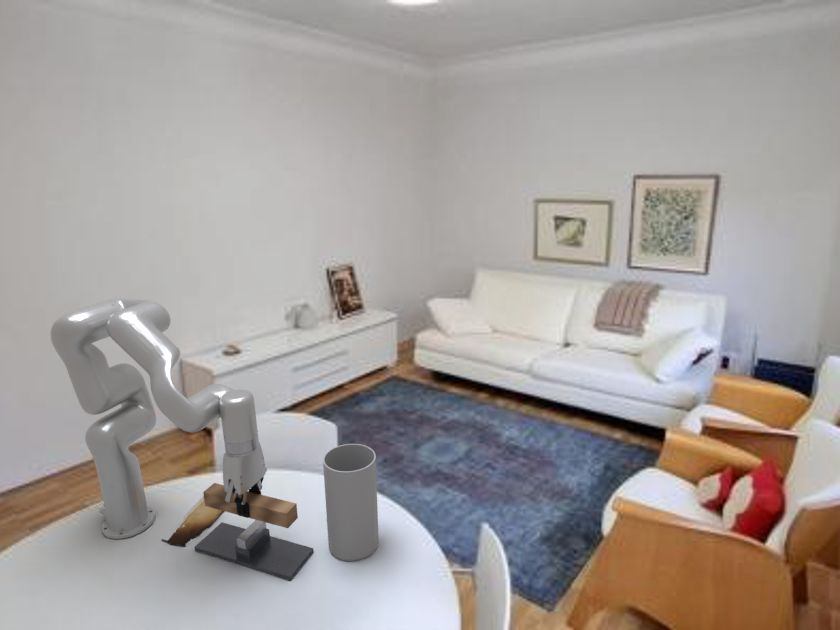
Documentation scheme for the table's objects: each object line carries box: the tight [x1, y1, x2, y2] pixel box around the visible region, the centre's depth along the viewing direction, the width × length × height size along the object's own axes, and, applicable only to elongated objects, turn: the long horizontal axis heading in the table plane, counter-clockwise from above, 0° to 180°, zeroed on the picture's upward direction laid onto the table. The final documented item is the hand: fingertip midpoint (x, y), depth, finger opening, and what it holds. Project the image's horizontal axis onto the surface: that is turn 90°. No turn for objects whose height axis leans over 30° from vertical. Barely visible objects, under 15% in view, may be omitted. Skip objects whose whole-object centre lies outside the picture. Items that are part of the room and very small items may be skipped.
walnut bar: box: [202, 482, 299, 529], centre depth 130 cm, size 24×4×4 cm, turn 69°
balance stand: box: [193, 519, 315, 582], centre depth 133 cm, size 28×10×7 cm, turn 69°
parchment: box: [161, 495, 224, 547], centre depth 148 cm, size 25×10×1 cm, turn 168°
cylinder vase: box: [322, 443, 379, 562], centre depth 133 cm, size 12×12×25 cm
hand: (250, 509), depth 131 cm, fingers closed on walnut bar, 4 cm apart
